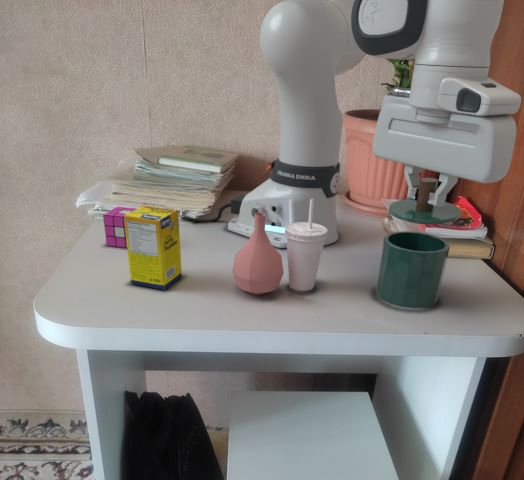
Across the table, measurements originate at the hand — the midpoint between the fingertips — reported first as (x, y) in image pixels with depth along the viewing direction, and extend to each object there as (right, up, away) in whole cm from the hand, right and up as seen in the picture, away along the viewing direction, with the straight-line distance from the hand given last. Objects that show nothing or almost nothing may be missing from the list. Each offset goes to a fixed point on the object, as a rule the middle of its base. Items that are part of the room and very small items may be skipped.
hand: (425, 202), depth 72 cm
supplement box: (-39, -10, +10) cm, 42 cm away
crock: (-1, -12, +8) cm, 15 cm away
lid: (0, -1, +1) cm, 1 cm away
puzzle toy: (-48, -1, +24) cm, 53 cm away
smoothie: (-17, -11, +9) cm, 22 cm away
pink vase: (-23, -12, +8) cm, 27 cm away
